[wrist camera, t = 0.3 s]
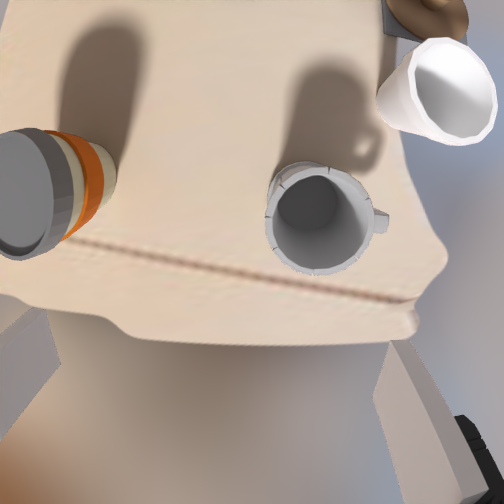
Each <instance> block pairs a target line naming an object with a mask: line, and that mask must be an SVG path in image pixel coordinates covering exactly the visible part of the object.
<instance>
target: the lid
mask: <svg viewBox="0 0 504 504" xmlns="http://www.w3.org/2000/svg"><path fill="white" fill-rule="evenodd" d="M385 3H386V5H387V7H388V9H389V11H390V12H391V14H392V15H393V17H394V18H395V19H396V20H397V21H398V23H399V24H400V25H401V26H402V27H404V28H405V29H406V30H407V31H408V32H410V33H411V34H413V35H414V36H416V37H417V38H419V39H421V40H423V41H425V40H427V39H429V38H443V37H449V38H451V39H453V40H455V41H458V40H459V39H461V38H462V37H463V36H464V35H465V33H466V32H467V29H468V24H469V19H468V13H467V9H466V6H465V4H464V2H463V0H385Z"/></svg>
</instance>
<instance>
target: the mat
mask: <svg viewBox="0 0 504 504" xmlns="http://www.w3.org/2000/svg"><path fill="white" fill-rule="evenodd" d="M381 1H382V12H383V26H384V34H388V35H392V36H396V37H401V38H405V39H409V40H412V41H417V42H420V43H422V42H424V41H423V40H421V39H419V38H417V37H416V36H414V35H413V34H411V33H410V32H408V31H407V30H406V29H405V28H404V27H402V26H401V25H400V24H399V23H398V21H397V20H396V19H395V18H394V17H393V15H392V14H391V12H390V11H389V9H388V7H387V5H386V3H385V0H381ZM458 42H460V43H462V44H464V45H466V46H467V37H466V33H465V35H464V36H463V37H462V38H461V39H459V40H458Z"/></svg>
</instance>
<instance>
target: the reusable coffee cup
mask: <svg viewBox="0 0 504 504" xmlns="http://www.w3.org/2000/svg"><path fill="white" fill-rule="evenodd" d="M116 179H117V178H116V168H115V164H114V161H113V159H112V157H111V156H110V154H109V153H108V152H107V151H106V149H105V148H103V147H102V146H100V145H98V144H95V143H91V142H87V141H85V140H84V139H82V138H81V137H78V136H75V135H71V134H67V133H62V132H57V131H51V130H44V131H43V130H40V129H37V128H24V129H19V130H14V131H9V132H5V133H2V134H0V254H2V255H3V256H5V257H6V258H9V259H12V260H19V261H22V260H26V259H29V258H32V257H35V256H37V255H40V254H43V253H46V252H48V251H49V250H51V249H53V248H54V247H55V246H56V245H57V244H58V243H59V242H60V241H62V240H64V239H66V238H68V237H69V236H70V235H72V234H73V233H74V232H75V231H77V230H78V229H79V228H80V227H82V226H83V225H84V224H86V223H87V222H88V221H89V220H90V219H91V218H92V217H93V216H94V214H95V213H96V212H97V210H99V209H100V208H101V207H103V206H104V205H105V204H106V203H107V202H108V201H109V199H110V198H111V196H112V194H113V192H114V189H115V186H116Z"/></svg>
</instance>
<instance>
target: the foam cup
mask: <svg viewBox="0 0 504 504" xmlns="http://www.w3.org/2000/svg"><path fill="white" fill-rule="evenodd" d="M376 103H377V110H378V112H379V114H380V116H381V117H382V119H383V121H385V122H386V123H387V124H388V125H389V126H391V127H392V128H395V129H398V130H402V131H406V132H410V133H414V134H418V135H422V136H425V137H428V138H429V139H432V140H435V141H438V142H441V143H444V144H447V145H456V146H464V145H468V144H472V143H477V142H480V141H481V140H482V139H483V138H484V137H485V136H486V135H487V134H488V133H489V132H490V131H491V130H492V128H493V125H494V121H495V117H496V114H497V110H498V105H497V97H496V89H495V84H494V82H493V81H492V78H491V76H490V74H489V72H488V70H487V68H486V66H485V64H484V63H483V61H482V60H480V58H479V57H478V56H477V55H476V54H475V53H474V52H473V51H472V50H471V49H470V48H469V47H468V46H466V45H464V44H462V43H460V42H458V41H455V40H453V39H451V38H449V37H443V38H429V39H427V40H425V41H424V42H422V43H420V44H419V45H417V46H416V47H415V48H414V49H413V50H411V51H410V52H409V53H408V54H406V55H405V56H404V57H403V59H402V62H401V64H400V65H399V66H398V67H397V68H396V69H395V70H394V72H393V73H392V74H391V75H390V76H389V77H388V78H387V79H386V81H385V82H384V83H383V84H382V85H381V87H380V88H379V91H378V93H377V96H376Z"/></svg>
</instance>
